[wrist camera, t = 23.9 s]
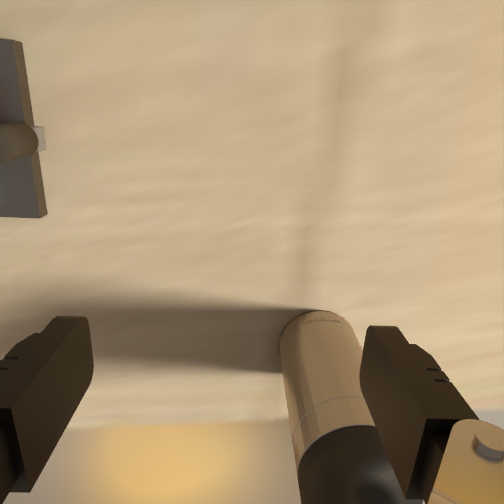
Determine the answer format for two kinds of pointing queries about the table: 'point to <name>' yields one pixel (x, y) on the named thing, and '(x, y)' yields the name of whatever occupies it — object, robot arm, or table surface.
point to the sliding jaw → (20, 141)
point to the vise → (13, 111)
